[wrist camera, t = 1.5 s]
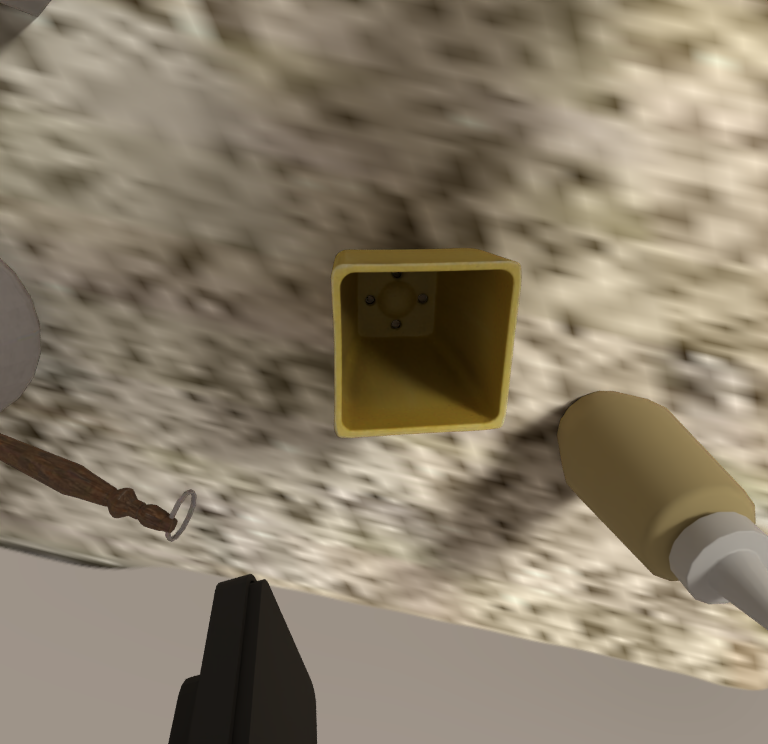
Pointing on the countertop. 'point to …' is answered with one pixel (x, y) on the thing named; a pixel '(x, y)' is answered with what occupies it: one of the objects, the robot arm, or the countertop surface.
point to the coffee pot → (4, 386)
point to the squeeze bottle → (666, 499)
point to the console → (27, 5)
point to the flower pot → (422, 340)
